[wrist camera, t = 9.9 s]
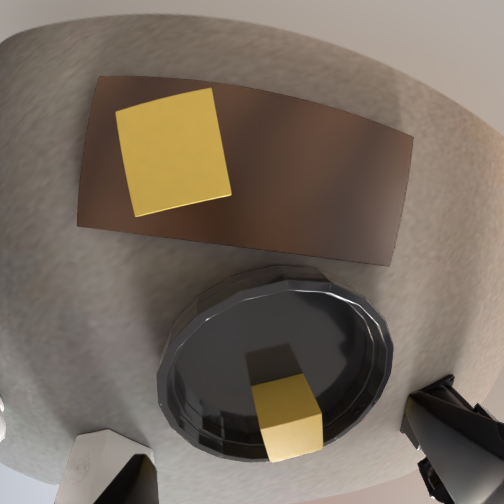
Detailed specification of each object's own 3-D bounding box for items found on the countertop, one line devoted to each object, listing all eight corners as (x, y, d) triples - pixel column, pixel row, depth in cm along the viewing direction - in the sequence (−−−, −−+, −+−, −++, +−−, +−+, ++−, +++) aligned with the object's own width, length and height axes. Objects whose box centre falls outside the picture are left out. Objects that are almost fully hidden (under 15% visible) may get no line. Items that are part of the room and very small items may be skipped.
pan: (370, 240, 19) (396, 252, 16) (368, 405, 23) (382, 427, 20) (131, 292, 18) (117, 315, 15) (199, 447, 22) (200, 474, 19)
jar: (125, 422, 20) (100, 538, 9) (175, 468, 23) (174, 567, 11) (63, 435, 20) (30, 523, 9) (112, 477, 23) (98, 559, 11)
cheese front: (211, 110, 14) (211, 86, 10) (226, 189, 16) (231, 195, 11) (140, 127, 14) (114, 111, 10) (155, 205, 15) (134, 217, 11)
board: (403, 138, 17) (414, 136, 16) (381, 261, 19) (389, 266, 18) (105, 81, 14) (98, 76, 13) (84, 223, 16) (76, 226, 15)
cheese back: (303, 372, 20) (322, 412, 16) (307, 410, 22) (323, 449, 17) (250, 385, 20) (260, 429, 16) (260, 422, 21) (270, 463, 17)
